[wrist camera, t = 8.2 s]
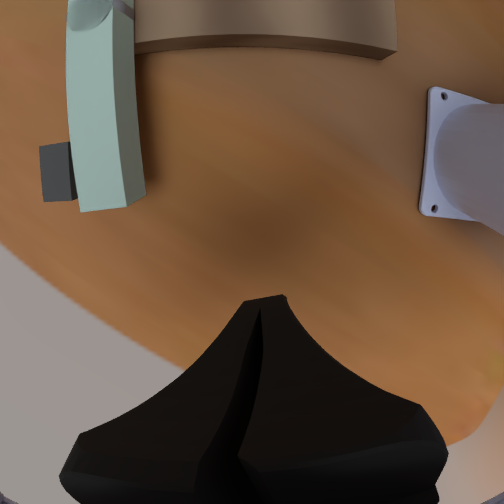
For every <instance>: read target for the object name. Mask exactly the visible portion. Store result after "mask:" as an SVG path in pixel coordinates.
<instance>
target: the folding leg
mask: <svg viewBox="0 0 504 504" xmlns="http://www.w3.org/2000/svg"><path fill="white" fill-rule="evenodd" d="M133 21H134V0H69V2H68V12H67V33H66V89H67V108H68V122H69V133H70V143H71V152H72V160H73V168H74V175H75V181H76V188H77V194H78V200H79V205H80V211H81V212H87V211H95V210H103V209H112V208H121V207H127V206H129V205H131V204H132V203H134V202H136V201H137V200H139V199H141V198H142V197H144V196H146V188H145V181H144V173H143V164H142V156H141V147H140V137H139V126H138V115H137V101H136V86H135V66H134V24H133Z"/></svg>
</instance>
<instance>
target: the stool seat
mask: <svg viewBox="0 0 504 504" xmlns="http://www.w3.org/2000/svg"><path fill="white" fill-rule="evenodd" d="M133 24H134V55H137V54H144V53H152V52H160V51H169V50H180V49H192V48H209V47H276V48H294V49H306V50H317V51H326V52H334V53H342V54H349V55H355V56H362V57H367V58H373V59H378V60H382V59H384V58H386V57H388V56H390V55H392V54H393V53H395V52H397V28H396V13H395V1H394V0H134V21H133Z"/></svg>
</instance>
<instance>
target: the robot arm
mask: <svg viewBox="0 0 504 504" xmlns="http://www.w3.org/2000/svg"><path fill="white" fill-rule="evenodd" d="M441 93H443V94H444V96H445V99H444V100H443V99H442V98H441ZM433 205H435V210H434V211H431V208H432V206H433ZM419 210H420V212H421V213H422V214H423V215H425V216H433V217H442V218H452V219H461V220H469V221H478V222H481V223H482V224H484V225H486V226H488V227H489V228H491V229H493V230H495V231H496V232H498V233H500V234H501V235H503V236H504V104H490V103H487V102H484V101H482V100H479V99H476V98H473V97H470V96H467V95H464V94H461V93H457V92H454V91H451V90H447V89H444V88H440V87H431V88H430V89H429V91H428V113H427V133H426V148H425V159H424V169H423V178H422V187H421V194H420V202H419ZM448 454H449V453H448V450H447V448H446V444H445V442H444V439H443V437H442V435H441V434H440V432H439V430H438V429H437V427H436V425H435V424H434V422H433V421H432V419H431V418H430V417H429V415H428V414H427V412H426V411H425V410H424V408H423V407H422V406H421V405H420V404H417V403H414V402H412V401H409V400H407V399H404V398H401V397H399V396H396V395H394V394H391V393H389V392H386V391H384V390H382V389H380V388H378V387H377V386H375V385H373V384H371V383H369V382H368V381H366V380H364V379H363V378H361V377H360V376H358V375H357V374H355V373H353V372H352V371H350V370H349V369H347V368H346V367H344V366H343V365H342V364H341V363H339V362H338V361H337V360H335V359H334V358H333V357H332V356H331V355H329V354H328V353H327V352H326V351H325V350H324V349H323V348H322V347H321V346H320V345H319V344H318V343H317V342H316V341H315V340H314V339H313V338H312V337H311V336H310V335H309V334H308V332H307V331H306V330H305V329H304V327H303V326H302V325H301V323H300V322H299V321H298V319H297V318H296V317H295V315H294V314H293V312H292V310H291V308H290V307H289V305H288V302H287V298H286V296H284V295H283V294H281V295H276V296H270V297H265V298H259V299H254V300H248V301H244V302H243V303H242V304H241V306H240V307H239V308H238V310H237V311H236V313H235V314H234V315H233V317H232V318H231V320H230V321H229V322H228V324H227V325H226V326H225V328H224V329H223V330H222V332H221V333H220V334H219V336H218V337H217V338H216V339H215V340H214V342H213V343H212V344H211V345H210V346H209V347H208V348H207V350H206V351H205V352H204V353H203V354H202V355H201V356H200V357H199V358H198V359H197V360H196V361H195V362H194V363H193V364H192V365H191V366H190V367H189V368H188V369H187V370H186V371H185V372H184V373H182V374H181V375H180V376H179V377H178V378H177V379H175V380H174V381H173V382H172V383H170V384H169V385H168V386H166V387H165V388H164V389H162V390H161V391H159V392H158V393H157V394H155V395H154V396H153V397H151V398H150V399H148V400H147V401H145V402H143V403H142V404H140V405H139V406H137V407H135V408H134V409H132V410H130V411H128V412H126V413H125V414H123V415H121V416H119V417H117V418H115V419H113V420H111V421H109V422H107V423H104V424H102V425H100V426H97V427H95V428H93V429H91V430H88V431H86V432H83V433H80V434H79V436H78V438H77V440H76V442H75V444H74V446H73V448H72V450H71V452H70V454H69V456H68V458H67V460H66V462H65V464H64V467H63V468H62V471H61V473H60V475H59V478H60V482H61V484H62V485H63V487H64V489H65V490H66V492H68V493H69V494H70V495H71V496H72V497H73V498H74V499H75V500H77V501H78V502H79V503H80V504H438V502H439V495H438V492H437V489H436V486H435V484H436V482H437V480H438V478H439V476H440V474H441V472H442V470H443V468H444V466H445V464H446V462H447V457H448ZM0 504H18V503H16V502H14V501H12V500H10V499H8V498H6V497H4V495H3V494H2V493H1V492H0ZM482 504H504V492H503V493H501V494H499V495H497V496H495V497H493V498H491V499H489V500H487V501H485V502H483V503H482Z"/></svg>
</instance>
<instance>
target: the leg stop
mask: <svg viewBox="0 0 504 504" xmlns="http://www.w3.org/2000/svg"><path fill="white" fill-rule="evenodd" d="M39 152H40V169H41V181H42V191H43V200H44V202H52V201H72V200H75V199H77V198H78V194H77V188H76V181H75V175H74V168H73V160H72V152H71V143H70V142H64V143H57V144H51V145H45V146H39Z"/></svg>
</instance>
